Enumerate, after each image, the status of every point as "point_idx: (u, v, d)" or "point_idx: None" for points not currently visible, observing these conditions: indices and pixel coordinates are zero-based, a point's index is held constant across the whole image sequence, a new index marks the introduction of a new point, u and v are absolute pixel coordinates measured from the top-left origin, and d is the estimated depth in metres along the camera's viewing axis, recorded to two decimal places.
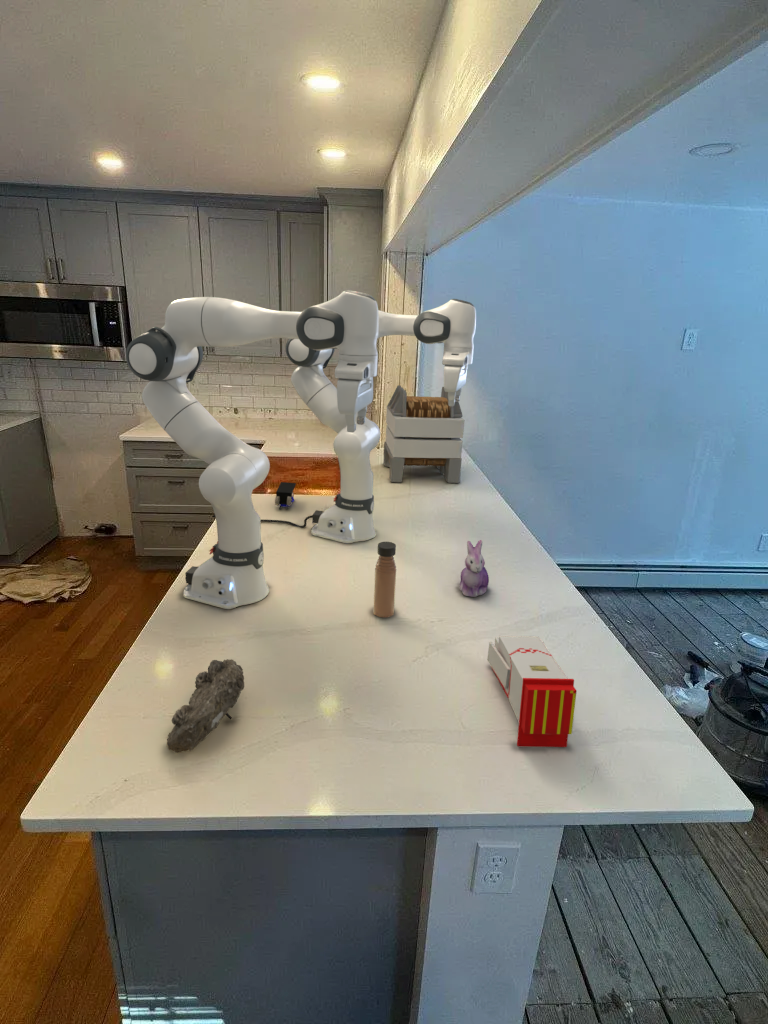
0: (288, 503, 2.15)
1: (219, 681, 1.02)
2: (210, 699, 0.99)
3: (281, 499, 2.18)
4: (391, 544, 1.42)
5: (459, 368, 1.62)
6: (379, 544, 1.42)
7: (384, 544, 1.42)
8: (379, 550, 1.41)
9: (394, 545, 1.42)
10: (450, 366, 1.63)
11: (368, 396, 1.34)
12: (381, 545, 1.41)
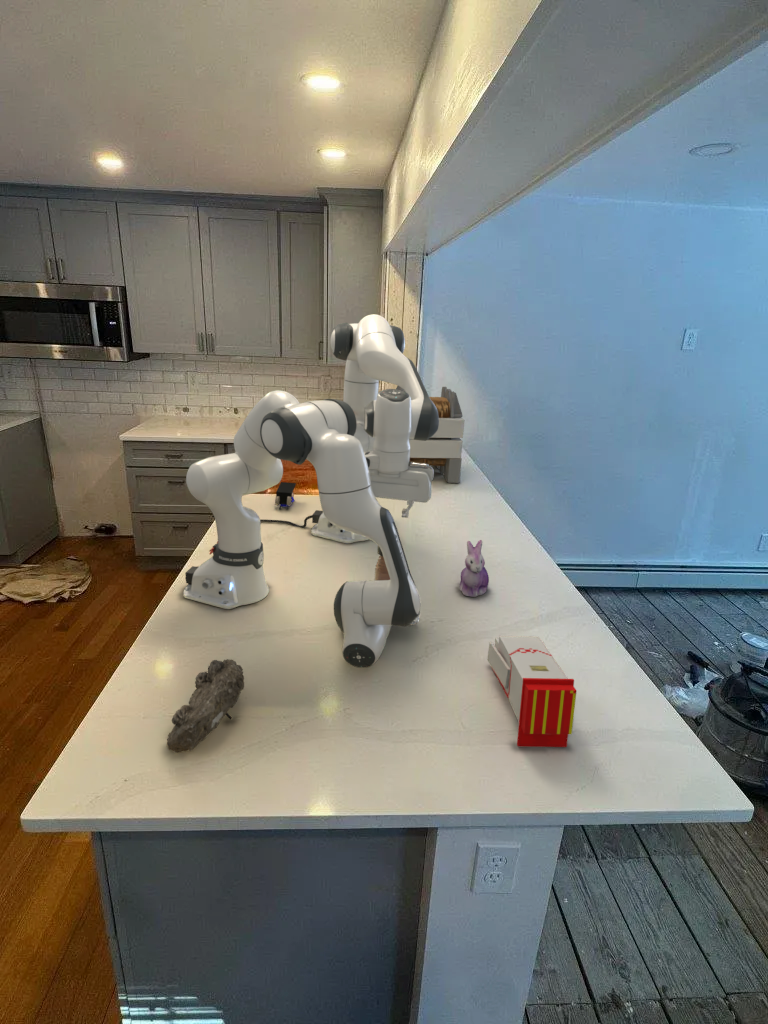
0: (288, 503, 2.15)
1: (219, 681, 1.02)
2: (210, 699, 0.99)
3: (281, 499, 2.18)
4: None
5: None
6: None
7: None
8: (379, 550, 1.41)
9: None
10: None
11: None
12: None
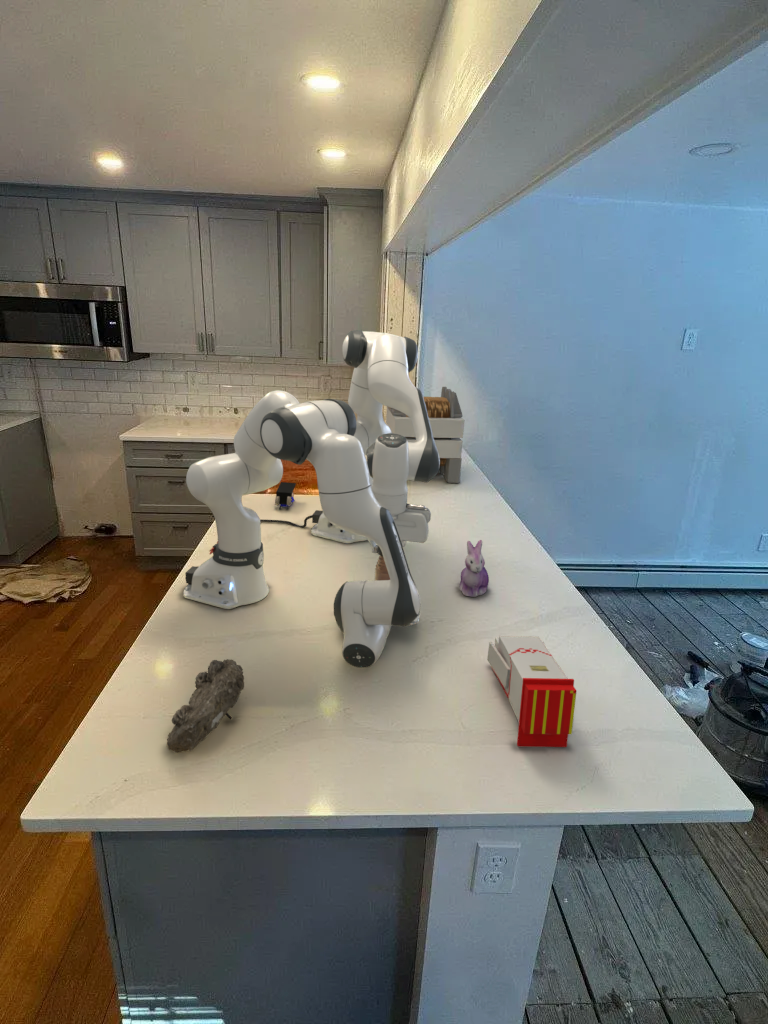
0: (288, 503, 2.15)
1: (219, 681, 1.02)
2: (210, 699, 0.99)
3: (281, 499, 2.18)
4: None
5: None
6: None
7: None
8: (379, 550, 1.41)
9: None
10: None
11: None
12: None
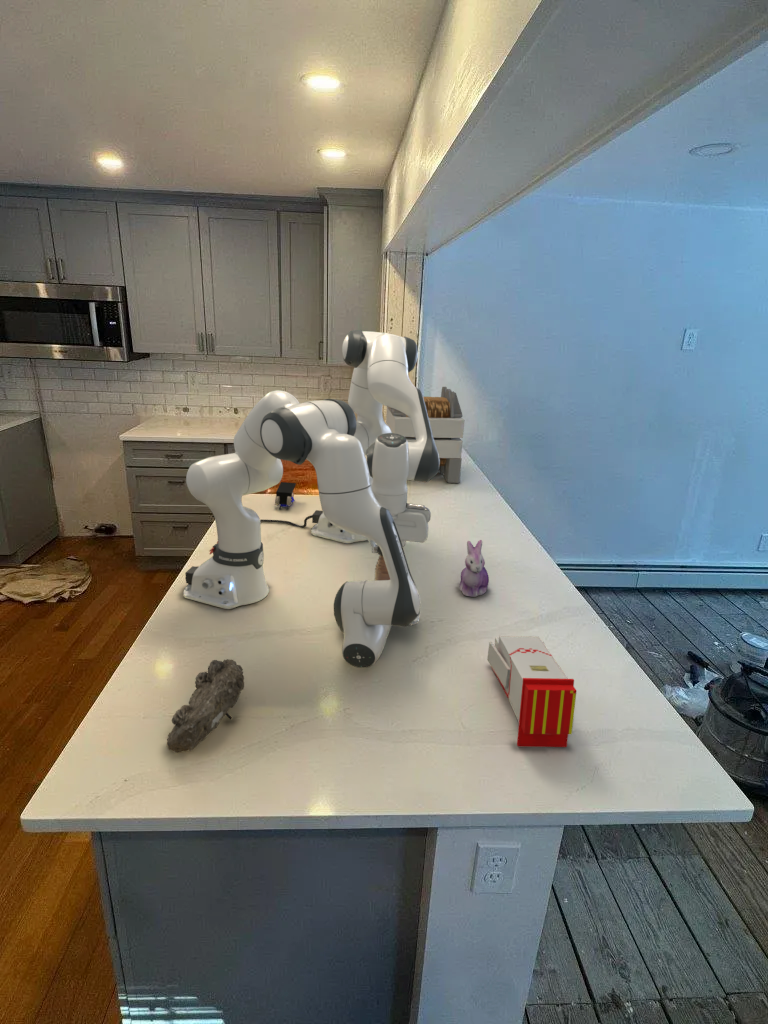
0: (288, 503, 2.15)
1: (219, 681, 1.02)
2: (210, 699, 0.99)
3: (281, 499, 2.18)
4: None
5: None
6: None
7: None
8: None
9: None
10: None
11: None
12: None
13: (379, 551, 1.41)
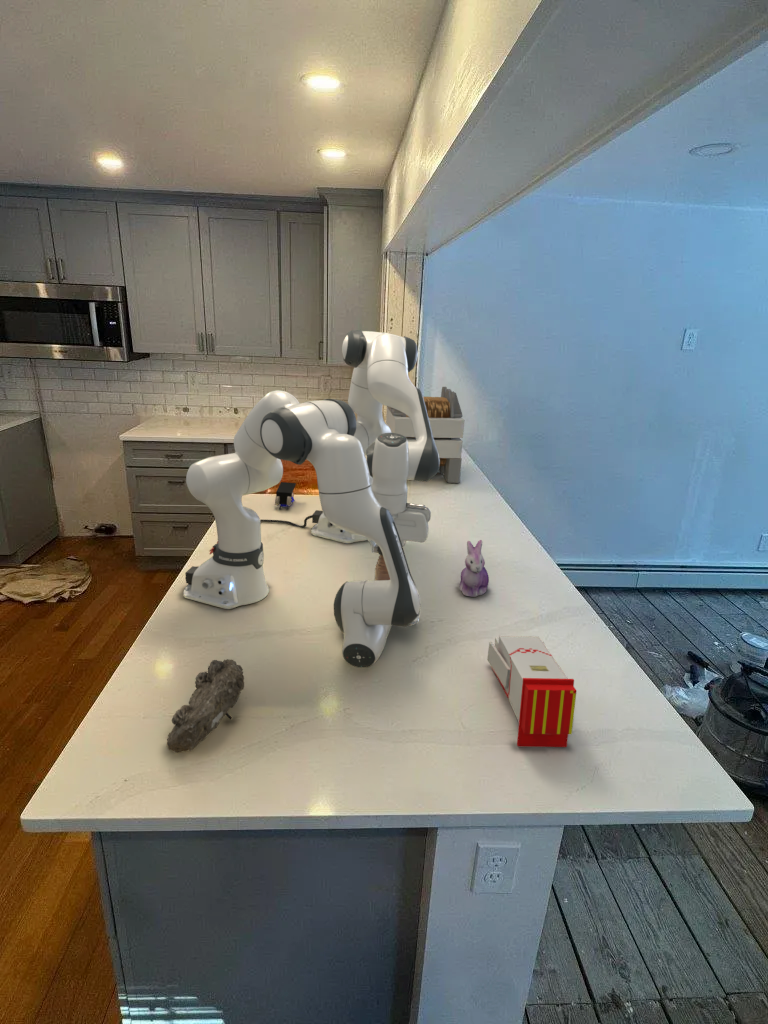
0: (288, 503, 2.15)
1: (219, 681, 1.02)
2: (210, 699, 0.99)
3: (281, 499, 2.18)
4: None
5: None
6: None
7: None
8: None
9: None
10: None
11: None
12: None
13: None
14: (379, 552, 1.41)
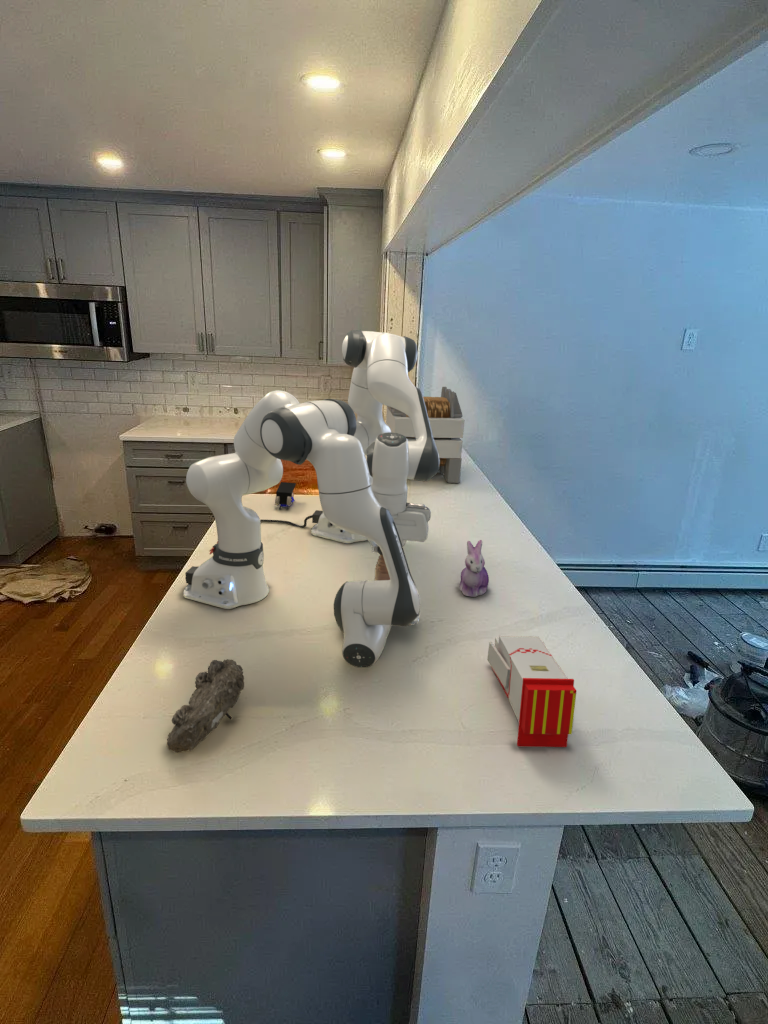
0: (288, 503, 2.15)
1: (219, 681, 1.02)
2: (210, 699, 0.99)
3: (281, 499, 2.18)
4: None
5: None
6: None
7: None
8: None
9: None
10: None
11: None
12: None
13: None
14: None
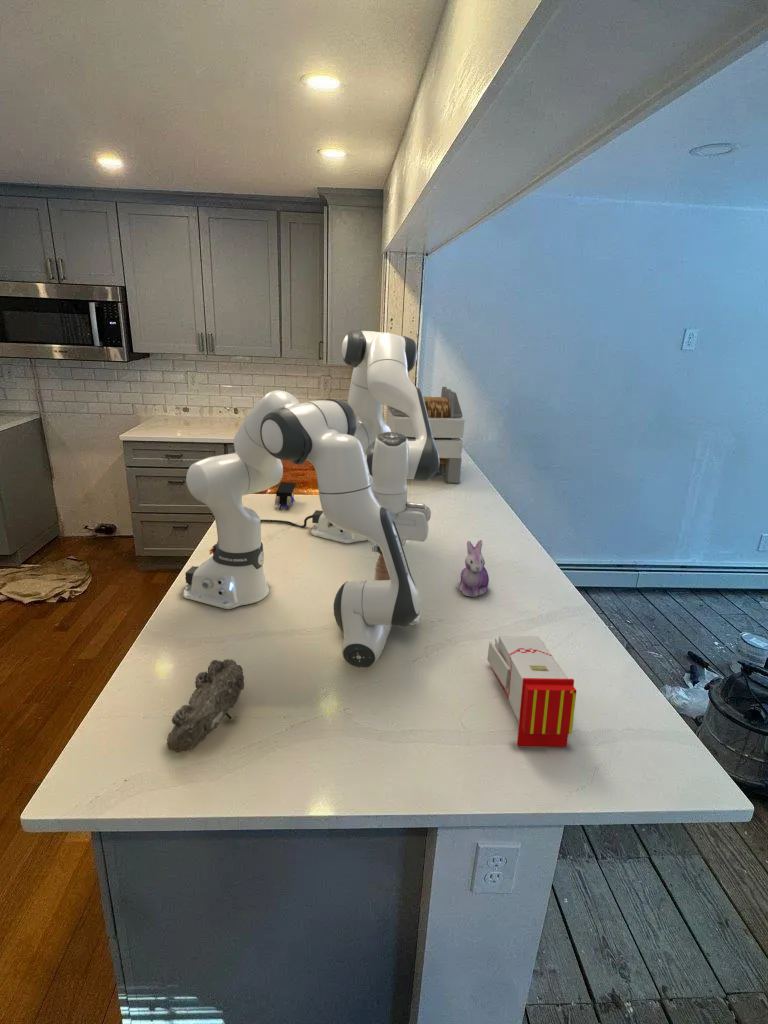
0: (288, 503, 2.15)
1: (219, 681, 1.02)
2: (210, 699, 0.99)
3: (281, 499, 2.18)
4: None
5: None
6: None
7: None
8: None
9: None
10: None
11: None
12: None
13: None
14: None
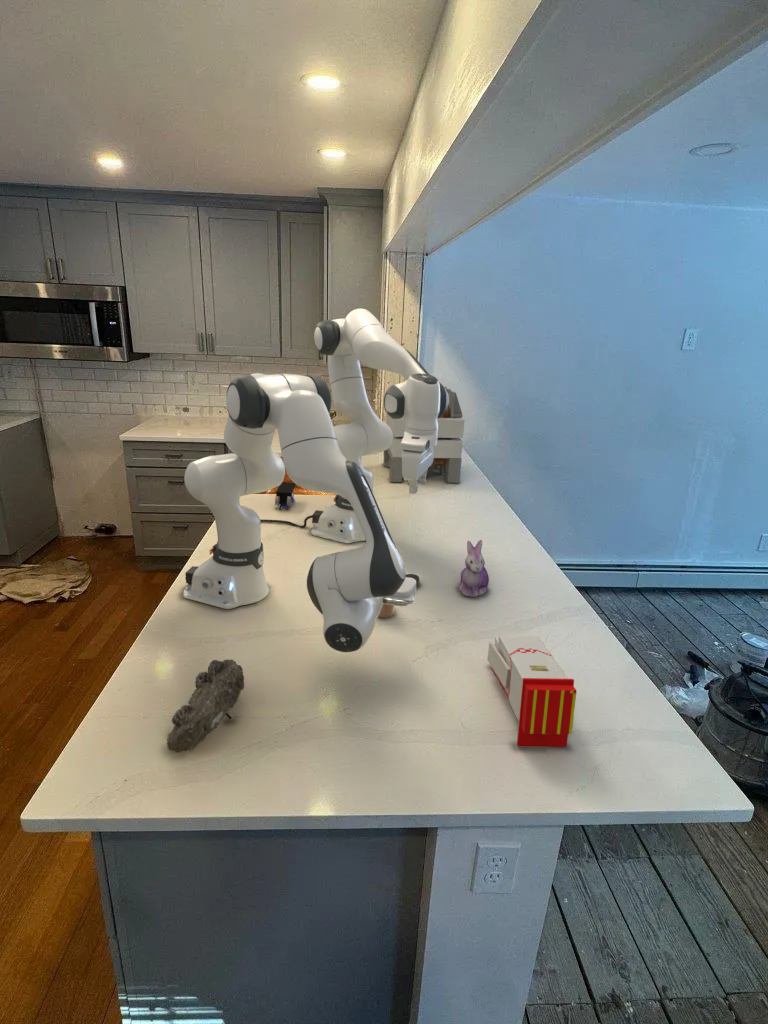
0: (288, 503, 2.15)
1: (219, 681, 1.02)
2: (210, 699, 0.99)
3: (281, 499, 2.18)
4: (412, 575, 1.64)
5: (419, 455, 1.41)
6: None
7: (409, 577, 1.63)
8: None
9: (415, 575, 1.64)
10: (409, 452, 1.42)
11: None
12: None
13: None
14: None
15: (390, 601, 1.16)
